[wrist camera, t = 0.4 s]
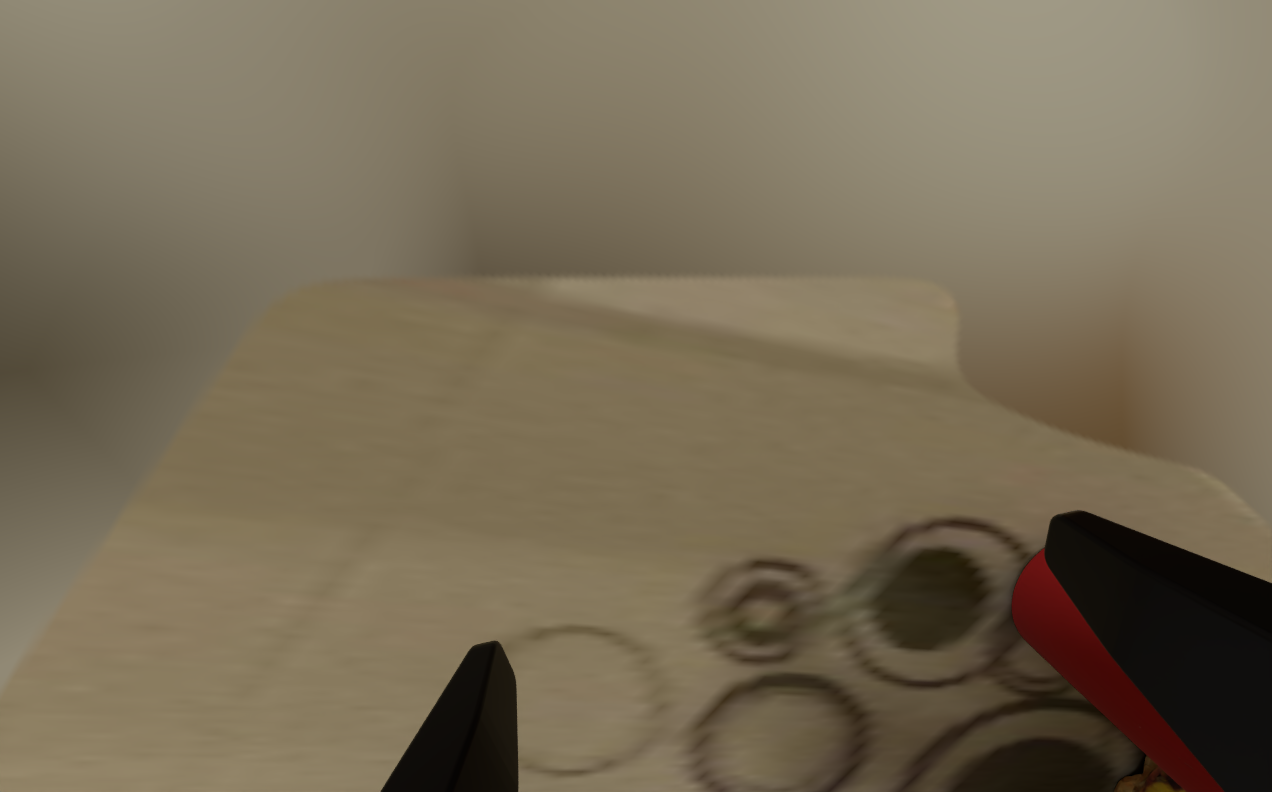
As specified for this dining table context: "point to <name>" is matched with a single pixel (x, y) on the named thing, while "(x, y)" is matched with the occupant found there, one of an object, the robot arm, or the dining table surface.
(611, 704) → the dining table surface
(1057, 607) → the beverage can
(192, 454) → the dining table surface
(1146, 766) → the burger
